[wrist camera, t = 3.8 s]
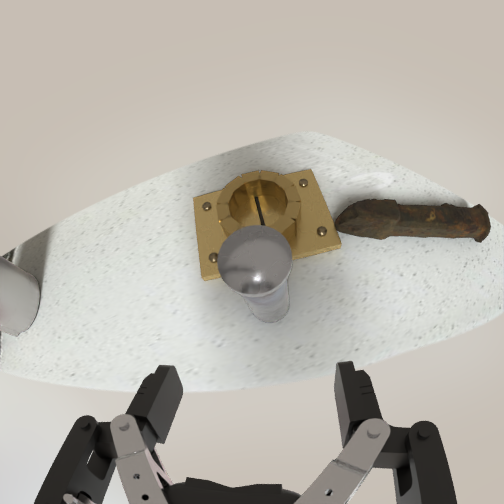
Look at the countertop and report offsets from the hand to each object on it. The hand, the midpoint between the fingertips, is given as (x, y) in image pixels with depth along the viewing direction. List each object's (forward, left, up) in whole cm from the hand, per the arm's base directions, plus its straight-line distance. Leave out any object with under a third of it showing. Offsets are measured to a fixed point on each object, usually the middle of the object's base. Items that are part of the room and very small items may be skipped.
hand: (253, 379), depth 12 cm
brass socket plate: (+12, +10, -11) cm, 19 cm away
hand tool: (+21, -4, -12) cm, 24 cm away
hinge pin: (+5, +4, -11) cm, 13 cm away
